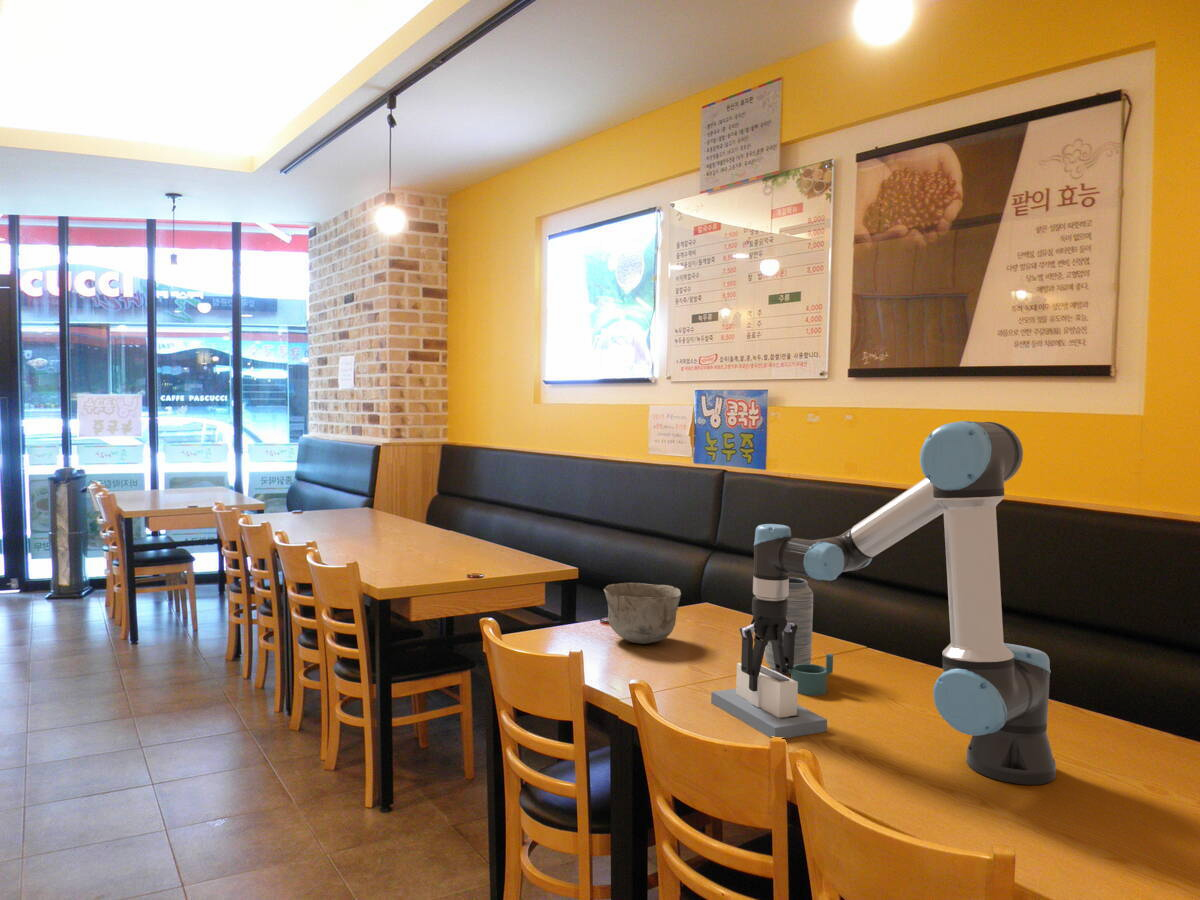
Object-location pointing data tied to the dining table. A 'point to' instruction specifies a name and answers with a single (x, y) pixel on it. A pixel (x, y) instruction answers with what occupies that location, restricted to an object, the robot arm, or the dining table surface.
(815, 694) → the bracket
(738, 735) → the dining table surface
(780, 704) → the block
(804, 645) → the vase
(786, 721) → the board
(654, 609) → the bowl
